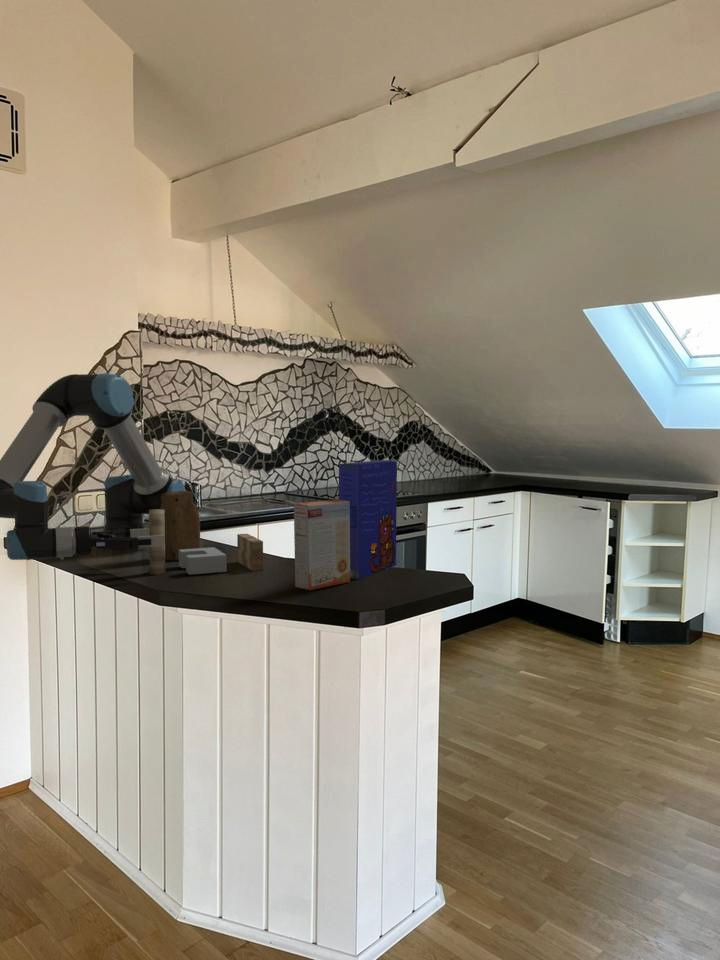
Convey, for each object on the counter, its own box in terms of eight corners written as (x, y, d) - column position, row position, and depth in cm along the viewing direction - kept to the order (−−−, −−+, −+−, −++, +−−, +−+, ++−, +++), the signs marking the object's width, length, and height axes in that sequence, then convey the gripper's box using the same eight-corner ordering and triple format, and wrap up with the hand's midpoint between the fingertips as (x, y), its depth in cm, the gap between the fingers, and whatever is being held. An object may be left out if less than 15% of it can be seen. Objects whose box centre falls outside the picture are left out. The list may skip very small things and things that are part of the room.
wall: (237, 561, 214) (237, 534, 214) (247, 560, 215) (247, 533, 215) (252, 571, 201) (252, 542, 200) (263, 570, 202) (263, 541, 201)
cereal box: (377, 563, 212) (378, 459, 210) (395, 565, 210) (396, 460, 207) (338, 577, 194) (338, 463, 191) (358, 579, 191) (359, 463, 188)
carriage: (179, 565, 206) (178, 549, 206) (214, 562, 211) (214, 547, 210) (189, 574, 194) (189, 557, 194) (226, 571, 198) (226, 555, 198)
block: (171, 562, 212) (170, 493, 211) (157, 559, 217) (156, 491, 216) (203, 557, 220) (202, 491, 218) (189, 554, 225) (188, 489, 224)
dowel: (148, 572, 198) (147, 509, 197) (163, 571, 200) (163, 508, 199) (151, 575, 195) (150, 511, 193) (166, 574, 196) (165, 510, 195)
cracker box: (335, 579, 191) (335, 498, 189) (351, 582, 187) (351, 500, 185) (293, 587, 181) (292, 502, 180) (308, 591, 177) (308, 504, 175)
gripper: (71, 548, 199) (151, 543, 208) (77, 565, 177) (168, 558, 185) (70, 521, 199) (151, 517, 207) (77, 533, 176) (167, 528, 185)
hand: (159, 536), depth 196 cm, fingers open, 13 cm apart
